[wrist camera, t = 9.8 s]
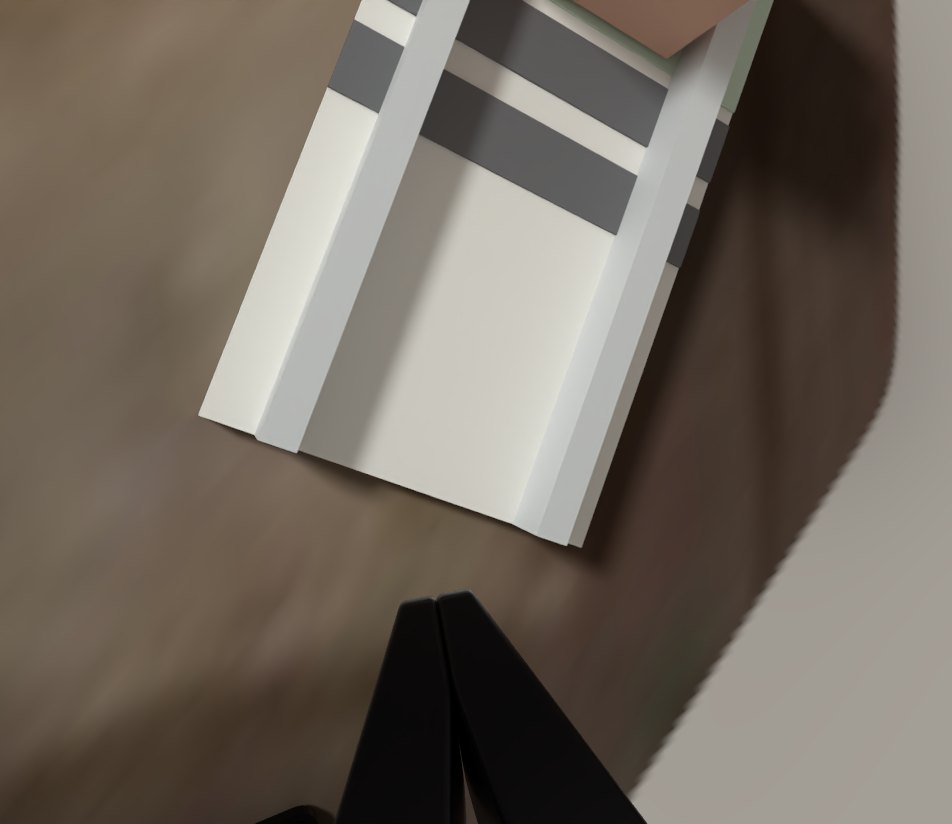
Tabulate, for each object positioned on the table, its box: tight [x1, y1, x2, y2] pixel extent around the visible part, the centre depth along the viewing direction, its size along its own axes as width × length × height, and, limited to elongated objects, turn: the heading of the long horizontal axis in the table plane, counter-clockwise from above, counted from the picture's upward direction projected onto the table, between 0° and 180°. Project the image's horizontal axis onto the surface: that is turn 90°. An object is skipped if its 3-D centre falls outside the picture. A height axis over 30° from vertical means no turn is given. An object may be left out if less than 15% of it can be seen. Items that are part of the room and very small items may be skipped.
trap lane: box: [198, 0, 773, 548], centre depth 20 cm, size 21×12×7 cm, turn 159°
